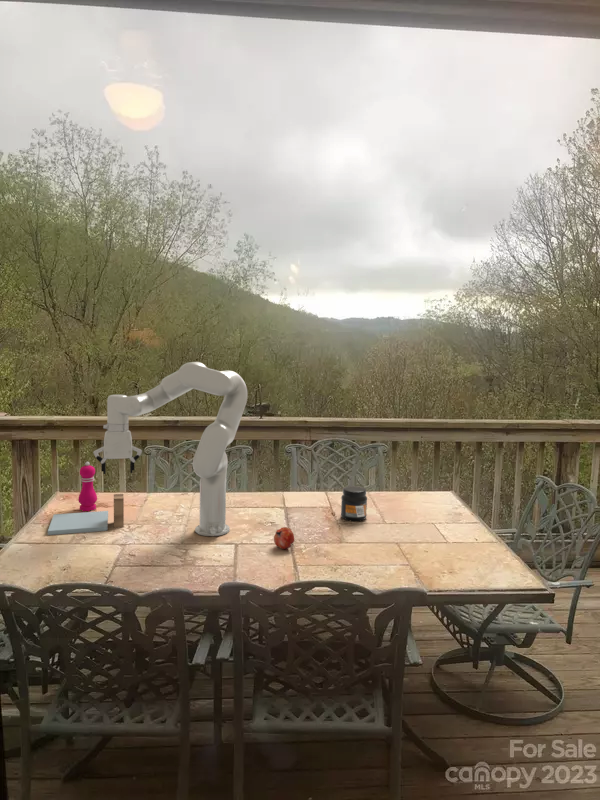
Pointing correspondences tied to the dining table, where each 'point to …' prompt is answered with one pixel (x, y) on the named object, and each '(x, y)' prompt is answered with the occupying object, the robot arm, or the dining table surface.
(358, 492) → the supplement container
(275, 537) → the pomegranate
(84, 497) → the pepper mill
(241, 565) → the dining table surface
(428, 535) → the dining table surface
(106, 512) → the board
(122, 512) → the walnut slab
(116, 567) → the dining table surface
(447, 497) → the dining table surface
